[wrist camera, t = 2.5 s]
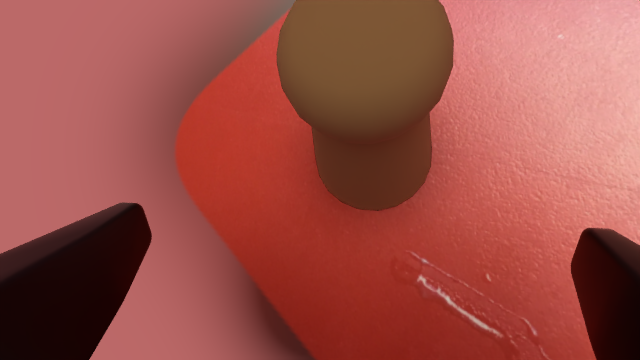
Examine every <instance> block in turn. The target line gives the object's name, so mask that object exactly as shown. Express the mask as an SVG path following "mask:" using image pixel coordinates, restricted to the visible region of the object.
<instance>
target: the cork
mask: <svg viewBox="0 0 640 360" xmlns="http://www.w3.org/2000/svg"><path fill="white" fill-rule="evenodd" d="M453 46H454V40H453V33H452V28H451V25H450V23H449V20H448V17H447V14H446V12H445V9H444V6H443V5H442V4H441V3H440V2H439V0H296V1H295V3H294V4H293V6H292V8H291V10H290V12H289V14H288V16H287V18H286V20H285V22H284V24H283V26H282V28H281V30H280V34H279V41H278V48H277V66H278V71H279V76H280V81H281V86H282V89H283V91H284V92H285V94H286V96H287V98H288V99H289V101H290V102H291V104H292V106H293V107H294V109H295V110H296V112H297V114H298V115H299V117H301V118H302V119H303V120H304V121H306V122H307V123H308V124H309V125H311V126H312V134H313V142H314V150H315V157H316V163H317V167H318V172H319V176H320V178H321V179H322V181H323V183H324V184H325V186H326V188H327V189H328V191H329V192H330V193H332V194H333V195H334V196H335V197H336V198H338V199H339V200H340V201H341V202H343V203H345V204H348V205H350V206H352V207H355V208H357V209H364V210H377V211H378V210H382V209H386V208H390V207H395V206H397V205H399V204H401V203H402V202H404V201H406V200H407V199H409V198H410V197H412V196H413V195H414V194H415V193H416V191H417V190H418V189H419V188H420V187H421V186H422V184H423V183H424V182H425V179H426V177H427V174H428V172H429V169H430V167H431V152H432V146H431V131H430V115H429V112H430V111H431V110H432V109H433V108H434V106H435V105H436V104H437V103H438V102H439V101H440V99H441V96H442V94H443V91H444V89H445V86H446V84H447V81H448V79H449V76H450V73H451V70H452V68H453Z"/></svg>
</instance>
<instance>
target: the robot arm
mask: <svg viewBox="0 0 640 360" xmlns="http://www.w3.org/2000/svg"><path fill="white" fill-rule="evenodd" d="M151 237H152V235H151V230H150V227H149V224H148V221H147V218H146V215H145V213H144V210H143V208H142V206H141V205H139V204H137V203H119V204H117V205H114V206H112V207H109V208H107V209H105V210H102V211H100V212H98V213H95V214H93V215H91V216H89V217H86V218H84V219H81V220H79V221H77V222H74V223H72V224H70V225H67V226H65V227H63V228H60V229H58V230H55V231H53V232H51V233H48V234H46V235H44V236H42V237H39V238H37V239H34V240H32V241H30V242H27V243H25V244H23V245H20V246H18V247H16V248H13V249H11V250H8V251H6V252H4V253H1V254H0V360H89V359H90V357H91V356H92V354H93V352H94V351H95V349H96V347H97V346H98V344H99V342H100V340H101V339H102V337H103V335H104V334H105V332H106V330H107V329H108V327H109V325H110V324H111V322H112V320H113V318H114V317H115V315H116V313H117V312H118V310H119V308H120V306H121V305H122V303H123V301H124V299H125V297H126V294H127V293H128V291H129V289H130V286H131V284H132V282H133V280H134V278H135V276H136V273H137V271H138V269H139V267H140V265H141V263H142V261H143V258H144V256H145V254H146V252H147V250H148V248H149V245H150V243H151ZM571 274H572V278H573V281H574V285H575V288H576V292H577V296H578V299H579V303H580V307H581V310H582V314H583V317H584V321H585V325H586V328H587V332H588V335H589V339H590V342H591V345H592V348H593V351H594V354H595V357H596V359H597V360H640V245H638V244H636V243H635V242H633V241H631V240H629V239H628V238H626V237H624V236H622V235H621V234H619V233H617V232H616V231H614V230H611V229H603V228H587V229H585V230H584V231H583V232H582V234H581V236H580V239H579V241H578V244H577V247H576V250H575V253H574V256H573V258H572V262H571Z"/></svg>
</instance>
